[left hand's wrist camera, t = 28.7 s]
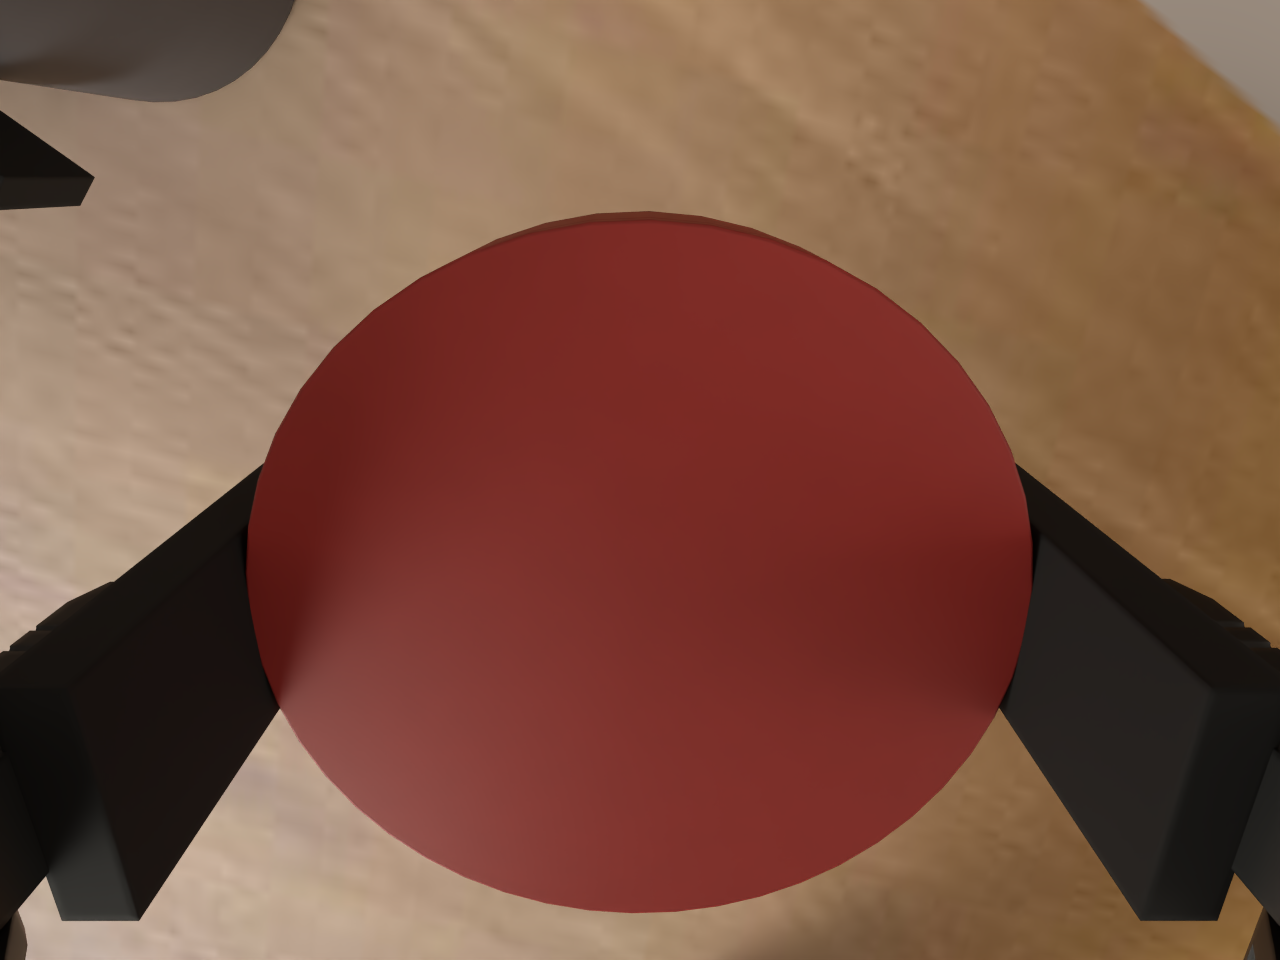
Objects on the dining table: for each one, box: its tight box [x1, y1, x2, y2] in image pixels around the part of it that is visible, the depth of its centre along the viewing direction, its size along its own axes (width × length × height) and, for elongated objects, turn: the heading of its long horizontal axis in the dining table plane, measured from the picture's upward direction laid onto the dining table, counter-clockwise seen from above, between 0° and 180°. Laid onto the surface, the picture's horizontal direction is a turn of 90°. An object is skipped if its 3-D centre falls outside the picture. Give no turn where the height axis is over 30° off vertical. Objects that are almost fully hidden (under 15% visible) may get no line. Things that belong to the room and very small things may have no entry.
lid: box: [246, 211, 1033, 913], centre depth 11 cm, size 10×10×2 cm
